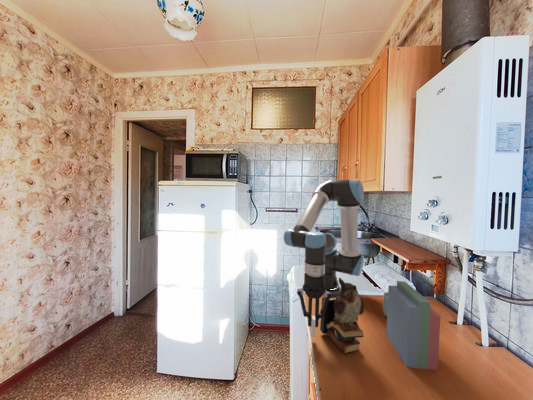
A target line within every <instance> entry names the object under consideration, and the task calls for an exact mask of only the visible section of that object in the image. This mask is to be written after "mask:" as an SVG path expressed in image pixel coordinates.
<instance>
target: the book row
mask: <svg viewBox="0 0 533 400" xmlns="http://www.w3.org/2000/svg"><path fill="white" fill-rule="evenodd" d="M387 292H388V311H387V317H386V336H387V337H388V339H389V340H390V341H389V342H390V343H391V344H392V346H393V348H394V349H395V350H396V352H397V354H398V355H399V357H400V359H401V360H402V362H403V363H404V366H405V367H406V368H412V369H413V368H414V369H423V370H429V371H430V370H432V371H438V370H439V353H440V352H439V350H440V335H441V333H440V331H441V315H440V314H438V312H436V311H435V310H434V309H433V308H432V307H431V301H429V300H428V299H427V298H426V297H425V296H424V295H422V294H421V293H419V292H418V291H417V290H416V289H415V288H413V287H412V286H411V285H410V284H409V283H407V282H406V281H402V280H397V281H396V285H388V290H387Z"/></svg>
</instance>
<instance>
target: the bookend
mask: <svg viewBox="0 0 533 400" xmlns="http://www.w3.org/2000/svg"><path fill="white" fill-rule="evenodd" d="M338 284H339V285H340V292H339V295H337V296H336V295H335V296H333V295H332V297H331V298H330V299H329V301H328V304H327V308H326V311H325V315H324V318H323V319H322V318H320V322H319V323H320V326H319V331H320V332H321V333H322V334H323V335H328V337H329V338H330V339H331V341H333V343H334V344H335V345H336V346H337V347H338V349H340V350H341V352H343V353H344V354H347V353H350V352H356V351H359V350H360V345H361V342H360V341H359V340H358V339H359V338H364V331H363V330H362V329H361V328H360V327H359V324H358V321H359V316H361V315H363V313H364V311H365V310H364V308H365V304H364V301H363V298H362V296H360V295H359V292H358V290H357V286H356V285H355V284H352V283H350V282H345V280H343V279H342V278H341V277H338ZM324 297H325V296H324ZM324 297H322V299H321V305H322V304H323V300H324Z"/></svg>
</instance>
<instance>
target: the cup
mask: <svg viewBox="0 0 533 400" xmlns="http://www.w3.org/2000/svg"><path fill="white" fill-rule="evenodd" d="M382 297H383V298H382V309H383V314H384V316H385V317H386V318H387V311H388V291H386V292H384V293H383V295H382Z"/></svg>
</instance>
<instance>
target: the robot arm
mask: <svg viewBox="0 0 533 400" xmlns="http://www.w3.org/2000/svg"><path fill="white" fill-rule="evenodd" d="M364 191H365V190H364V186H363V183H362V182H361V181H360V180H358V179H337V180H336V179H331V180H327V181H325V182H323V183H321V184H320V185H319V186H317V188H316V189H314V191H313V192H312V194H311V199H310V201H309V203H308V205H307V206H306V207H305V209H304V211H303V212H302V214H301V216H300V218H299V220H298V221H297V223H296V224H295V226H294V227H293V228H292V229H290V228H289V229H286V230H285V232H284V233H283V241H284V244H285V245H286V246H289V247H293V248H297V249H304V274H303V275H304V278H303V280H304V281H303V282H304V283H303V285H302V287H301V288H297V291H296V294H297V295H298V297H299V300H300V305H301V310H302V314H303V317H304V318H306V317H307V326H308V327H310V337H313V338H315V337H316V328H319V320H321V318H322V319H323V318H324V315H325V311H326V308H327V304H328V301H329V299H330V298H331V297H333V295H332V293H331V291H327V290H330V289H334V288H337V287H338V288H339V285H340V283H339V279H338V276H337V272H338V273H342V274H346V275H350V276H356V277H358V276H360V275H361V274H362V271H363V267H364V262H365V256H364V255H363V254H362V252H361V250H360V249H359V247H358V244H359V242H358V241H359V239H358V238H359V237H358V233H359V232H358V208H359V207H361V203H363V202H364V201H365V192H364ZM329 202H336V203H337V204H336V205H337V206H338V207H339V208H340V211H339V212H340V235H341V236H340V239H341V240H340V244H341V247H340V248H339V249H337V248H336V247H337V243H338V242H337V238H336V236H335V235H334V234H332V233H330V232H321V231H312V230H313V228H314V227H315V225H316V222H317V221H318V219H319V217H320V215H321V213H322V210H324V207H325V206H327V204H329ZM304 293H305V295H306V296H307V297H308V303H307V304H308V306H307V307H308V308H307V307H306V303H305V299H304ZM322 296H324V300H323V304H322V303H321V307H320V299H321V297H322ZM313 299H315V300H314V301H315V304H314V305H315V306H314V315H313Z"/></svg>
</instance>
